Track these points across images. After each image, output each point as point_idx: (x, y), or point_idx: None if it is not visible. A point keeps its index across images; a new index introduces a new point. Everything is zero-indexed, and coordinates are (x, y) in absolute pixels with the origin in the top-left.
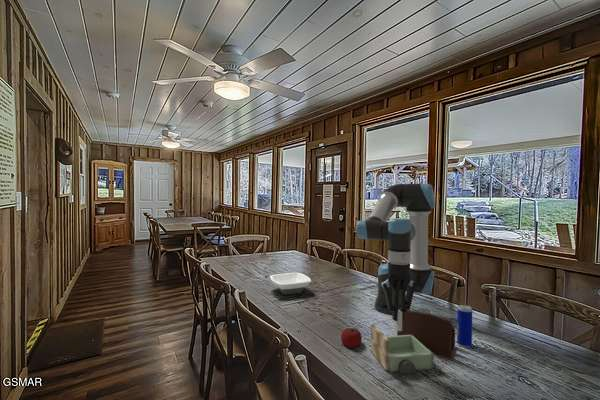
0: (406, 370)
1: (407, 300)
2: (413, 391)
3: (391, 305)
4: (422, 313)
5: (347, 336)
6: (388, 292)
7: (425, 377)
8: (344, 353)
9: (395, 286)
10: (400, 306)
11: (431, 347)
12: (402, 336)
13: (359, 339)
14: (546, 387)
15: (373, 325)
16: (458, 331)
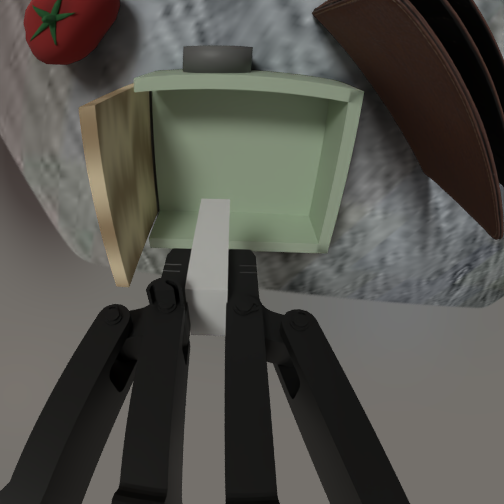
0: None
1: (298, 411)
2: None
3: (121, 380)
4: (485, 142)
5: (33, 52)
6: (73, 484)
7: None
8: (51, 73)
9: None
10: (238, 330)
11: (406, 128)
12: (302, 93)
13: (89, 42)
14: (462, 293)
15: (86, 130)
16: None
